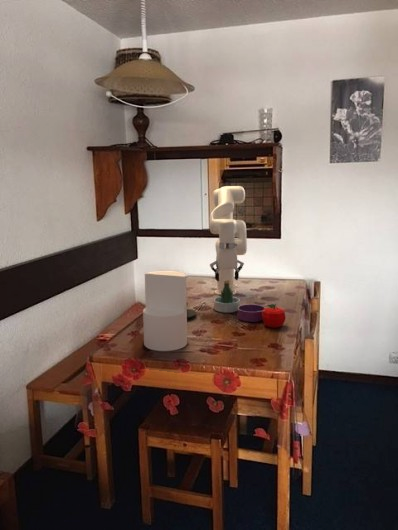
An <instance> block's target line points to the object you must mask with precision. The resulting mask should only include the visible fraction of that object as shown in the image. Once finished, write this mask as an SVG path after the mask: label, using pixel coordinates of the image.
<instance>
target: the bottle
mask: <svg viewBox="0 0 398 530" xmlns="http://www.w3.org/2000/svg"><path fill="white" fill-rule="evenodd" d="M220 297H221V303H233V297H234V295H233V291H232V290H231V288H230V281H224V288H223V290H221V295H220Z"/></svg>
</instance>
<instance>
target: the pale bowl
mask: <svg viewBox="0 0 398 530" xmlns="http://www.w3.org/2000/svg"><path fill="white" fill-rule="evenodd" d="M239 306H241V299H240V298H238V297H235V296H233V303H221V296H218V297H215V298H214V299H213V310H215V311H217V312H219V313H223V314H225V313H226V314H228V313H229V314H231V313H235V312H238V307H239Z"/></svg>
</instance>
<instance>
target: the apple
mask: <svg viewBox="0 0 398 530" xmlns="http://www.w3.org/2000/svg"><path fill="white" fill-rule="evenodd" d="M266 306H267V307H265V309H263V313H262V317H263V320H262V321H263V324H264V326H265V327H267V328H271V329H273V328H274V329H277V328H280V327H282V326H283V325H284V323H285V321H286V318H287V317H286V312H285V311H286V310H285V309H283V308H280V307H278V306H277V305H276V303H271V304H267V305H266Z"/></svg>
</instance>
